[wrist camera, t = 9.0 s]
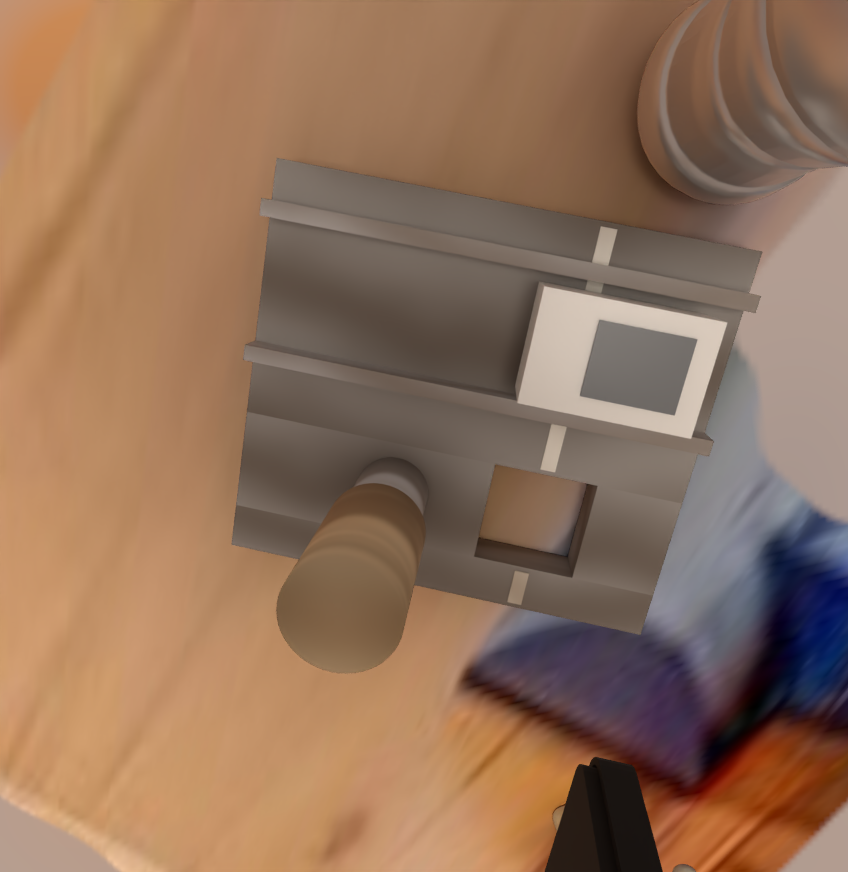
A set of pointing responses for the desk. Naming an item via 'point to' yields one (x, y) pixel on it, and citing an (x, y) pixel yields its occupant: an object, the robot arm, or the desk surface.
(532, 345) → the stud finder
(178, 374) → the desk surface
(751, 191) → the plastic bottle
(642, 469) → the grey ridged panel
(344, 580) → the tan cylinder
